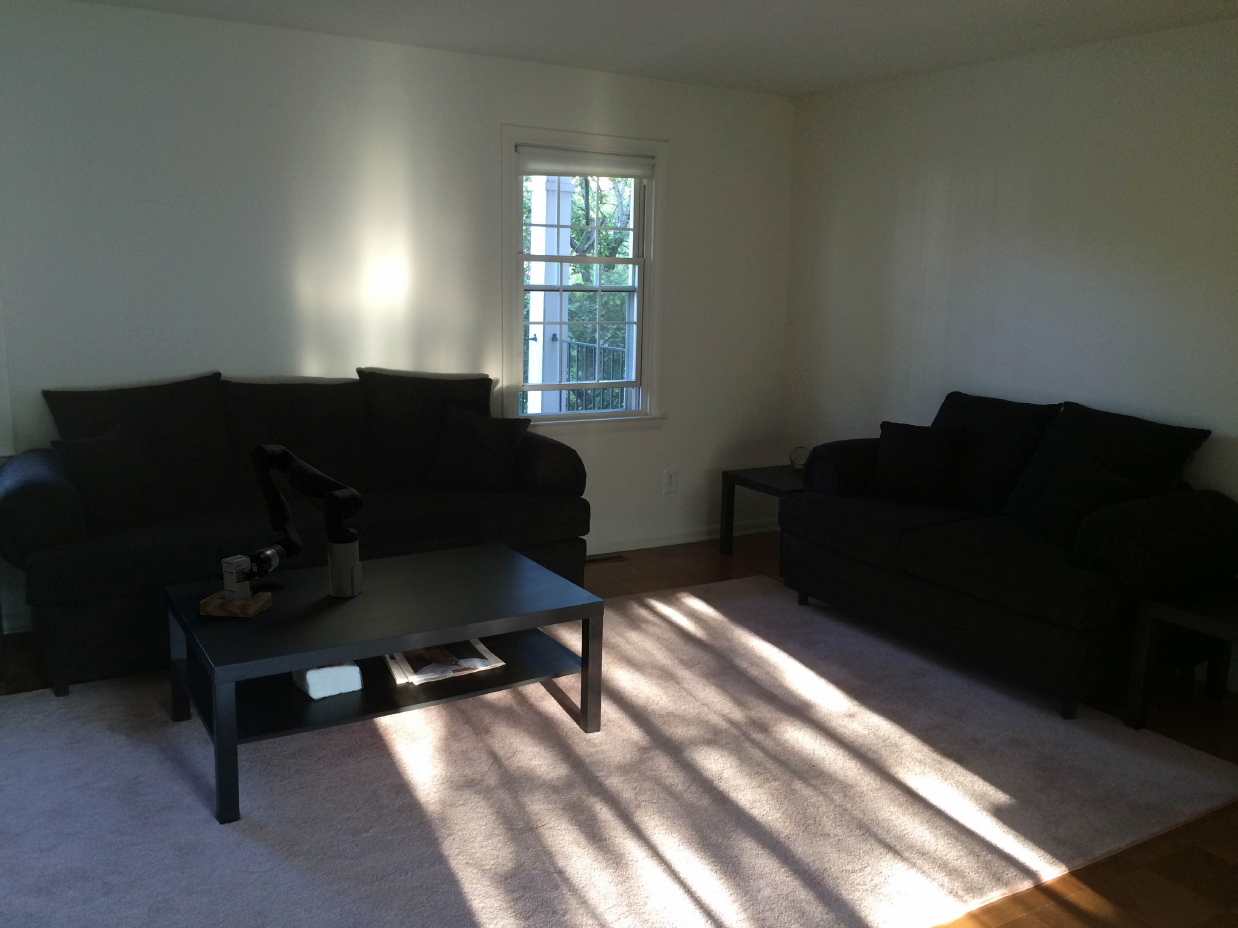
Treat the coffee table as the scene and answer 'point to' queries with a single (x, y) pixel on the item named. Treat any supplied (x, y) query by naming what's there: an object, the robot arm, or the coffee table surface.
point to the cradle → (235, 605)
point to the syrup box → (237, 578)
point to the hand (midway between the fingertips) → (233, 577)
